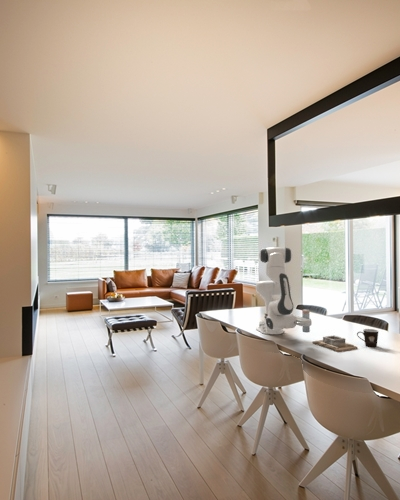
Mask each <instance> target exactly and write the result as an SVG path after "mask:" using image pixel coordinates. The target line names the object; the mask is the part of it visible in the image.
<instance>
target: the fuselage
mask: <svg viewBox="0 0 400 500" xmlns="http://www.w3.org/2000/svg"><path fill="white" fill-rule="evenodd" d="M301 314H302V316H301V317H302V318H306V319H311V317H310V309H302V310H301ZM310 328H311V327H310V326H302V332H303V333H310V331H311V329H310Z"/></svg>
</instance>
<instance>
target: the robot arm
mask: <svg viewBox="0 0 400 500" xmlns="http://www.w3.org/2000/svg"><path fill="white" fill-rule="evenodd" d="M258 256H259V260H260V262H262V263H265V264H266V266H265V267H266V268H265V274H266V277H268V279H269V280H259V281H257V283H256V284H255V291H256V293H257V294H258V295H259V296H260V297H261V298H262V299H263V301H264V304H265V305H264V306H265V313H264V318H263V319H261V321H259V325H258V327H256V328H255V330H256V331H258V332H260V333H262V334H265V335H281V334H284V332H285V329H286V330H288V329H294V328H295V327H296V326H300V327H303V326H312V319H311V318H310V319H306V318H302V316H297V315H294V314H293V313H292V312H293V311H294V308H295V307H294V303H293V299H292V296H291V284H290V281H289V277H288V276H287V274H286V265H285V264H287V263H290V262H291V260H292V258H293V253H292V249H290V247H289V248H288V247H280V246H276V247H261V249H260V250H259V254H258ZM273 296H280V298H278V299H277V300H276V299H275V298H273Z"/></svg>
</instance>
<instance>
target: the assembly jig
mask: <svg viewBox="0 0 400 500" xmlns="http://www.w3.org/2000/svg"><path fill="white" fill-rule="evenodd" d="M311 342H312V345H313V344H314V345H316V346H320V347H322V348H325V349H328V350H331V351H334V352H337V353H341V352H347V351H353V350H357V349H358V346H355V345H354V344H352V343H348V342H346V338H345V337H341V336H338V335H327V336H323V337H322V339H320V340H315V341H311Z"/></svg>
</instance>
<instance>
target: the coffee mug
mask: <svg viewBox="0 0 400 500" xmlns="http://www.w3.org/2000/svg"><path fill="white" fill-rule="evenodd" d="M359 334H362V335H363V338H364V339H363V338H361V336H359ZM356 336H357V337H358V338H359V339H360V340H362V341H363V342H364V344H365V346H366V347H367V348H373V349H374V348H378V339H379V330H378V329H375V328H374V329H373V328H365V329H364V328H363V331H358V332H357V333H356Z"/></svg>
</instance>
